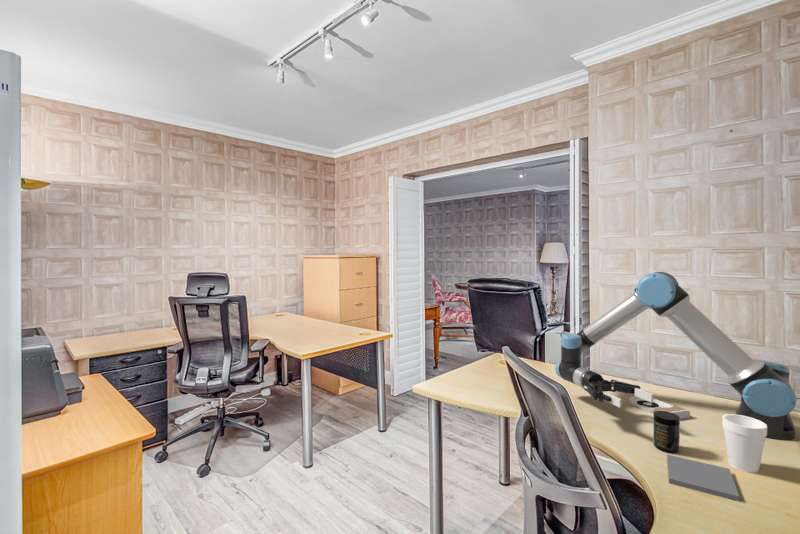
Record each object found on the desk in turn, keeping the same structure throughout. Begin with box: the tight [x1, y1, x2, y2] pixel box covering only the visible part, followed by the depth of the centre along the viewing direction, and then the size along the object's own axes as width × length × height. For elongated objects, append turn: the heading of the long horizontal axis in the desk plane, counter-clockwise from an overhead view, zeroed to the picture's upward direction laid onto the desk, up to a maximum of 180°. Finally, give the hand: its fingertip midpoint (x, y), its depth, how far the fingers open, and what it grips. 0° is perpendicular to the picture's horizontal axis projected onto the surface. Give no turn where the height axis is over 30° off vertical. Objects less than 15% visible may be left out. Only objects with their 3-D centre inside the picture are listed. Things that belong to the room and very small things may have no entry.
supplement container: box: [652, 411, 681, 454], centre depth 117 cm, size 7×7×10 cm
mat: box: [666, 454, 740, 502], centre depth 102 cm, size 14×14×1 cm
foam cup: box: [722, 413, 767, 474], centre depth 107 cm, size 10×9×13 cm
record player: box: [628, 395, 691, 420], centre depth 147 cm, size 12×3×20 cm
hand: (636, 401), depth 127 cm, fingers open, 13 cm apart
